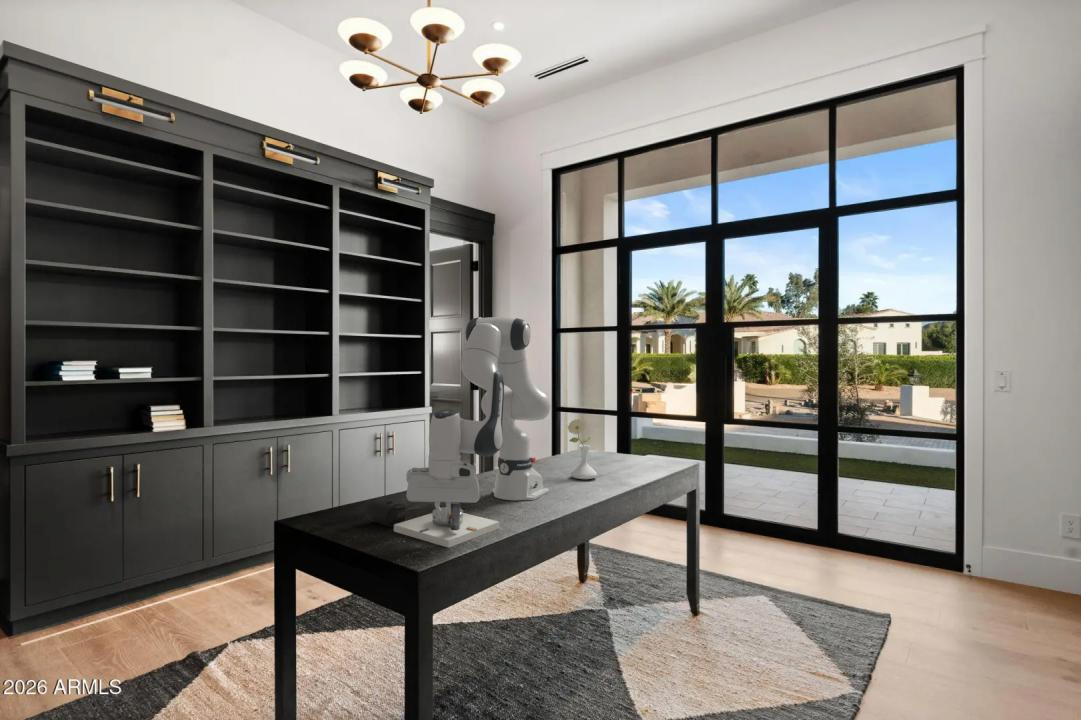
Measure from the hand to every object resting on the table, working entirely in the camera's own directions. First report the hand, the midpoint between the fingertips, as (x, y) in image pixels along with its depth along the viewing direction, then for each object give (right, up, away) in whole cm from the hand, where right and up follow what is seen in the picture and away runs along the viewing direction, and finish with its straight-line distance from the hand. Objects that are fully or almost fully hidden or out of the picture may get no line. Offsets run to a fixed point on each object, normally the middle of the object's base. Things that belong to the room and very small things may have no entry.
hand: (442, 517), depth 167 cm
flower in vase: (+45, -6, +84) cm, 95 cm away
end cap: (-20, -6, +14) cm, 25 cm away
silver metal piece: (+1, -4, +7) cm, 8 cm away
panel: (0, -6, +10) cm, 12 cm away
